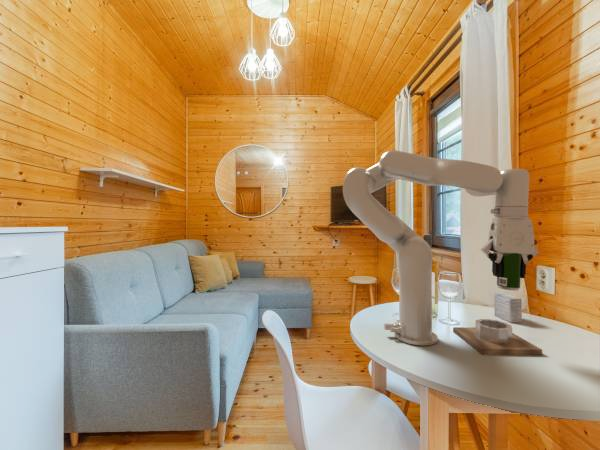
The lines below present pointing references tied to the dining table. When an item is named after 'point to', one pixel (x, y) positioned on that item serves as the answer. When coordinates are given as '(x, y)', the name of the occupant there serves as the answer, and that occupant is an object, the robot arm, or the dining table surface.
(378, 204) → the robot arm
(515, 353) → the walnut stand
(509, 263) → the beer can
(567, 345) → the dining table surface
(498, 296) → the medicine box
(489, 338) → the can sleeve
